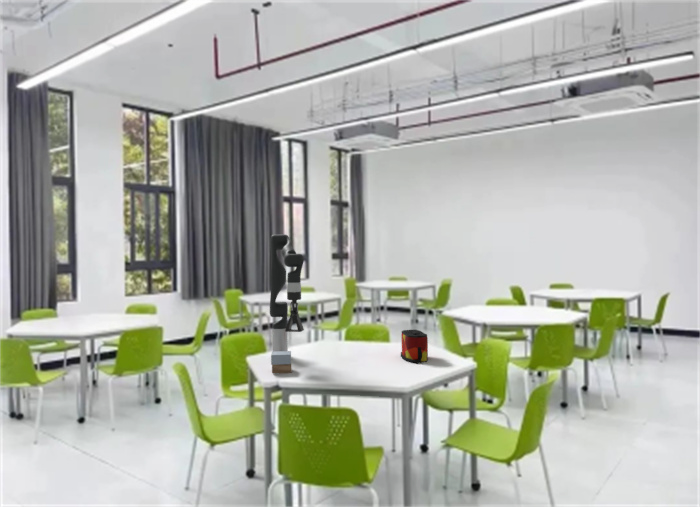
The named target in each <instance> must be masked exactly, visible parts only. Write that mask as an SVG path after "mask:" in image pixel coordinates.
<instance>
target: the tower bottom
mask: <svg viewBox="0 0 700 507" xmlns="http://www.w3.org/2000/svg"><path fill="white" fill-rule="evenodd" d="M271 373H279V374H291V373H292V363H291V364H278V365H271Z"/></svg>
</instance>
